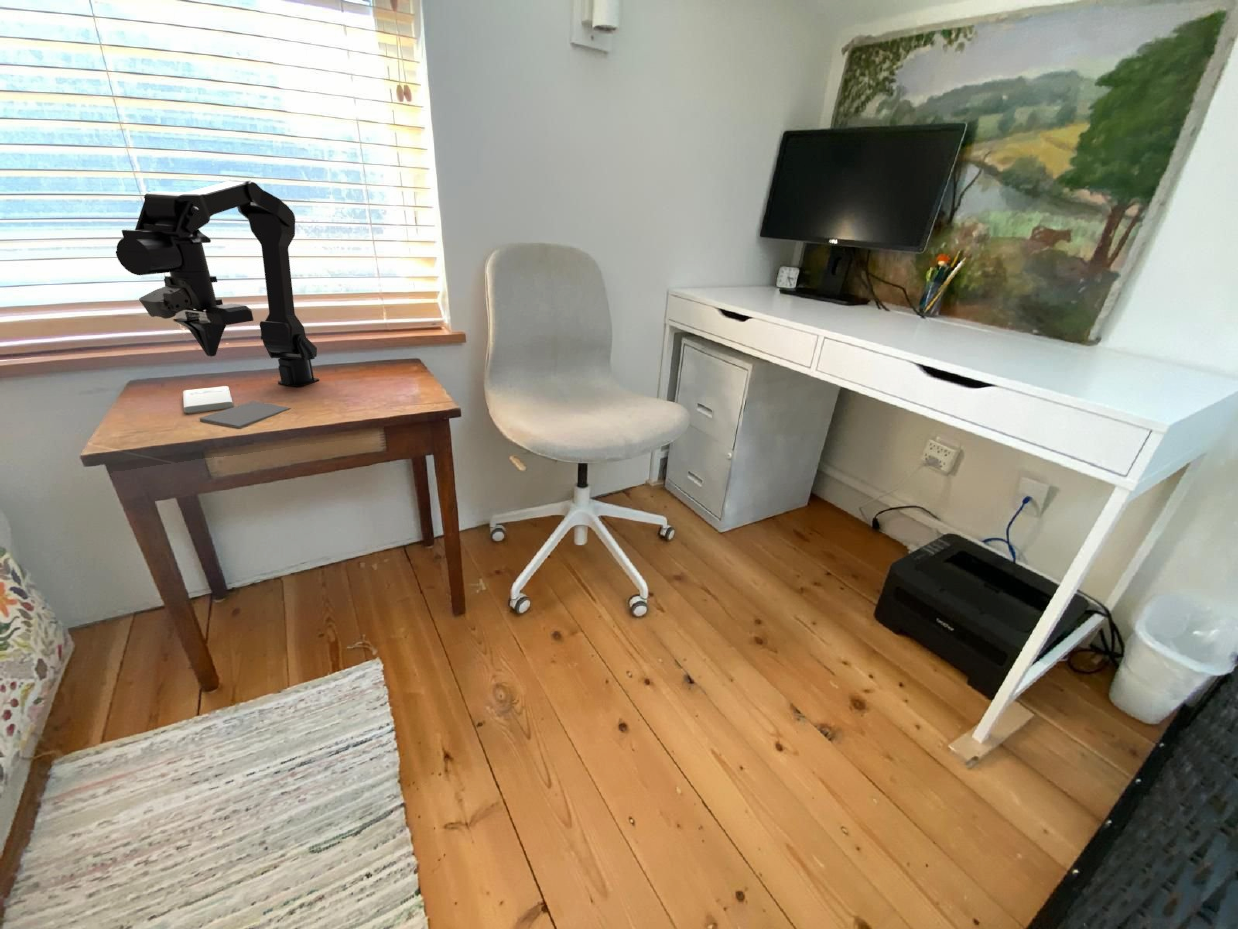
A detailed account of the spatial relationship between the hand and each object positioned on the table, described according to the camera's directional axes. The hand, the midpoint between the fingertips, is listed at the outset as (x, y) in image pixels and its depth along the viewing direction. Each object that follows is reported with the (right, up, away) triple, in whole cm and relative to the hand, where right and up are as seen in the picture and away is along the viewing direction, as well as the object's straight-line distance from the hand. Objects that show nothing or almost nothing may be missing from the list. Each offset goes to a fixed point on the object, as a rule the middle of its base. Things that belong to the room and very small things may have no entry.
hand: (211, 355), depth 102 cm
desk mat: (+2, -11, +7) cm, 13 cm away
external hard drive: (-6, -9, +7) cm, 13 cm away
